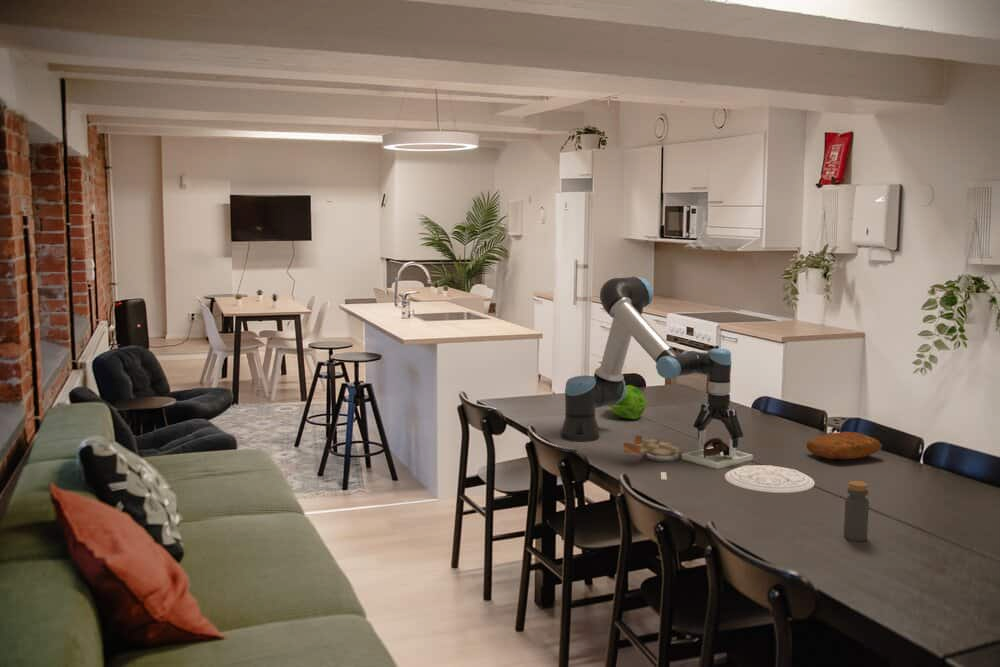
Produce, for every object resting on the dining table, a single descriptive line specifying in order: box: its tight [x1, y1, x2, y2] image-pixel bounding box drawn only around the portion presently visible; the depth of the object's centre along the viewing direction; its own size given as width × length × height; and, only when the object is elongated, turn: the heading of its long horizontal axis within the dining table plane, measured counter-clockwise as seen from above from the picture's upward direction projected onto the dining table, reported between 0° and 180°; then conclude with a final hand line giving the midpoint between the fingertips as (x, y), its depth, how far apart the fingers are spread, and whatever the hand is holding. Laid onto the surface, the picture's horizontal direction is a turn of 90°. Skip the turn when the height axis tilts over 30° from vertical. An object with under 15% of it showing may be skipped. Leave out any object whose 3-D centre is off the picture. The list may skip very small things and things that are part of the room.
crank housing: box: [646, 451, 679, 462], centre depth 318 cm, size 11×11×2 cm
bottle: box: [843, 480, 870, 542], centre depth 237 cm, size 6×6×15 cm
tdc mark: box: [660, 471, 668, 481], centre depth 295 cm, size 8×2×1 cm, turn 171°
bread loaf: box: [806, 431, 883, 460], centre depth 316 cm, size 22×17×8 cm
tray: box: [681, 446, 754, 470], centre depth 314 cm, size 16×19×2 cm
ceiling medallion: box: [724, 464, 815, 494], centre depth 291 cm, size 28×28×3 cm
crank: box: [622, 434, 681, 456], centre depth 315 cm, size 22×12×7 cm, turn 126°
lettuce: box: [609, 384, 647, 420], centre depth 383 cm, size 15×22×15 cm
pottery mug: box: [703, 437, 732, 459], centre depth 315 cm, size 12×10×8 cm
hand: (717, 452), depth 314 cm, fingers open, 13 cm apart
